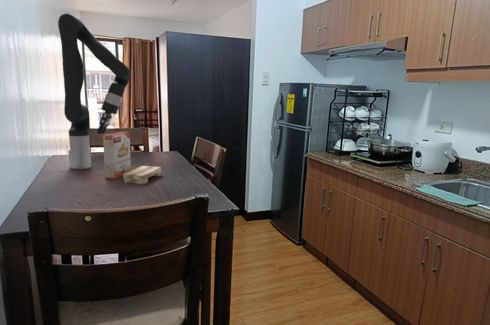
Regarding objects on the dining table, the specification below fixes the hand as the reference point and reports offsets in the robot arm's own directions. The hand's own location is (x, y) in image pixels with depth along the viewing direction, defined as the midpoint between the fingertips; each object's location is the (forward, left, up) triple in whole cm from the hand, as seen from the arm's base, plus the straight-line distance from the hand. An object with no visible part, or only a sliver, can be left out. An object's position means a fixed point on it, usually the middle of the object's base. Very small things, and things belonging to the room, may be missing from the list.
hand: (100, 133), depth 164 cm
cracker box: (+13, -7, -19) cm, 24 cm away
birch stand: (+27, -9, -19) cm, 34 cm away
